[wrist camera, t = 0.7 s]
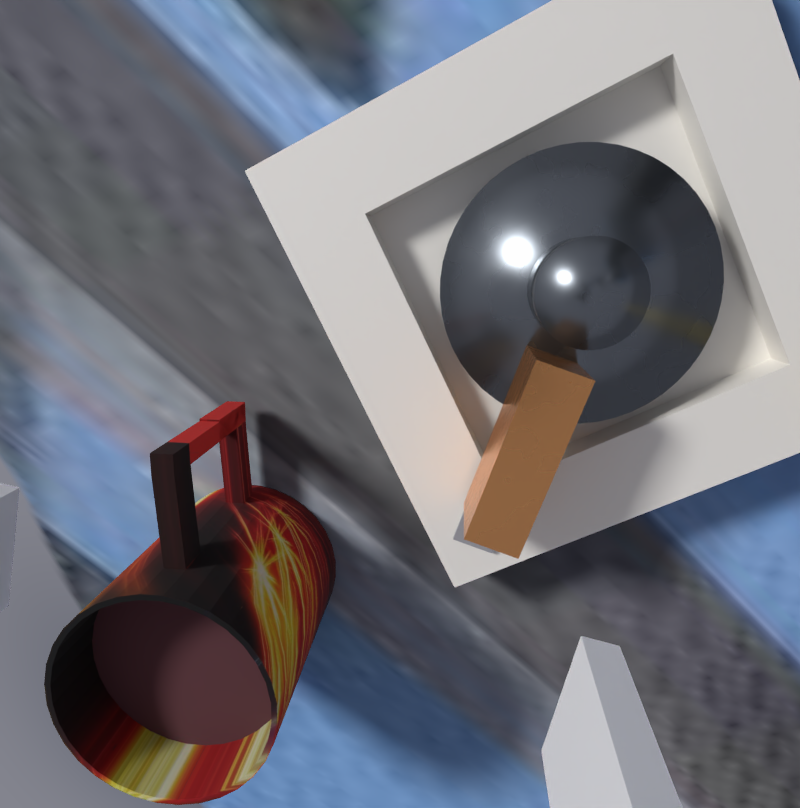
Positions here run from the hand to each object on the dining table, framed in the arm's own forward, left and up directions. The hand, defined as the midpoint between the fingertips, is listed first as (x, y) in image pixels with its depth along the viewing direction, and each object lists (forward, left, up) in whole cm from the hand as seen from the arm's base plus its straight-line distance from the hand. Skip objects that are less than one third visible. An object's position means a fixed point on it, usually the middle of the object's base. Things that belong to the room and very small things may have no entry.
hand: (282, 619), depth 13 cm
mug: (+12, +4, -22) cm, 25 cm away
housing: (-10, -1, -22) cm, 24 cm away
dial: (-8, 0, -20) cm, 21 cm away
